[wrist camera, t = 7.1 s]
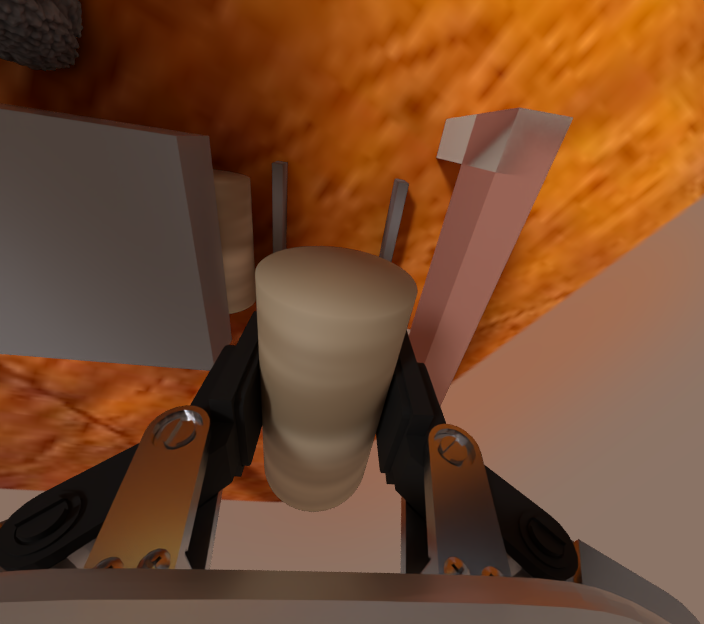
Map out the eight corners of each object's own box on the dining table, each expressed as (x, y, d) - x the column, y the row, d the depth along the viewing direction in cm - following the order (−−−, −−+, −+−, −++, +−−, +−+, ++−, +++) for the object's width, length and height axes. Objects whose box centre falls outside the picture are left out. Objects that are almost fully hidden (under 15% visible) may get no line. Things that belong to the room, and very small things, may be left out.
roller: (276, 238, 9) (228, 305, 5) (403, 255, 9) (436, 328, 6) (277, 409, 13) (250, 508, 9) (363, 417, 13) (368, 514, 10)
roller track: (-40, 112, 16) (-154, 105, 12) (403, 180, 18) (418, 191, 14) (40, 275, 21) (-22, 304, 17) (375, 310, 23) (381, 342, 20)
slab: (-142, 80, 12) (-278, 65, 9) (209, 135, 13) (176, 136, 10) (6, 319, 18) (-49, 349, 15) (231, 340, 19) (214, 371, 17)
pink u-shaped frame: (446, 118, 16) (519, 107, 10) (479, 124, 16) (573, 117, 10) (386, 345, 25) (402, 422, 18) (408, 347, 25) (431, 424, 19)
